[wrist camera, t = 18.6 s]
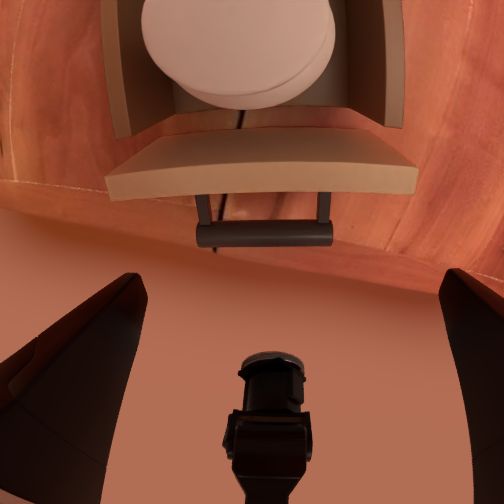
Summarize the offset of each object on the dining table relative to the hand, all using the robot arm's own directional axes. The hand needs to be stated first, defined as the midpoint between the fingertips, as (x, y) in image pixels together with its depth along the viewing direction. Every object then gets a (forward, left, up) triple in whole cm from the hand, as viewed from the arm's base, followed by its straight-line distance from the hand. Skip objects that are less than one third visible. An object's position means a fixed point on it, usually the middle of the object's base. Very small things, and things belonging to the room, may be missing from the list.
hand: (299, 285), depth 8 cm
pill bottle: (+3, +6, -10) cm, 12 cm away
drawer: (+3, +6, -11) cm, 13 cm away
